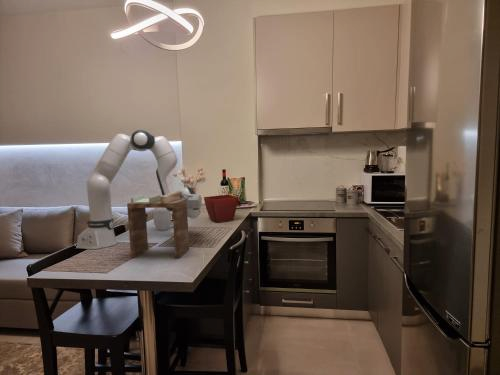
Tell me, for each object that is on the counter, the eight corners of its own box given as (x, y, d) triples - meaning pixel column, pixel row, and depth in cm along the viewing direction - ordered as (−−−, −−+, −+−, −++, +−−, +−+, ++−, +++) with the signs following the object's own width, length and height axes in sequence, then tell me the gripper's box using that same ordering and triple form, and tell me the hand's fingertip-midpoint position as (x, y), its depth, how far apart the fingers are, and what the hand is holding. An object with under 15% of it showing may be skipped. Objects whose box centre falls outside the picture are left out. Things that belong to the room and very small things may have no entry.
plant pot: (204, 219, 250) (203, 196, 248) (229, 216, 258) (228, 194, 256) (213, 224, 233) (211, 199, 231) (239, 221, 241) (238, 197, 239)
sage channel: (131, 203, 164) (130, 198, 164) (141, 199, 175) (141, 194, 174) (151, 202, 162) (150, 197, 162) (160, 199, 173) (160, 194, 173)
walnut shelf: (131, 257, 165) (127, 203, 162) (144, 249, 179) (141, 199, 176) (179, 258, 161) (176, 203, 158) (189, 249, 175) (186, 198, 172)
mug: (172, 225, 234) (171, 206, 232) (180, 228, 225) (179, 208, 224) (151, 229, 224) (150, 209, 223) (158, 232, 216) (157, 211, 214)
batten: (160, 203, 159) (160, 196, 159) (177, 196, 181) (177, 191, 181) (166, 203, 159) (166, 196, 159) (183, 196, 181) (182, 190, 180)
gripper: (168, 198, 192) (158, 188, 179) (204, 198, 189) (197, 187, 176) (167, 209, 189) (157, 200, 177) (203, 209, 186) (195, 199, 174)
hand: (177, 194), depth 176 cm, fingers closed on batten, 3 cm apart
